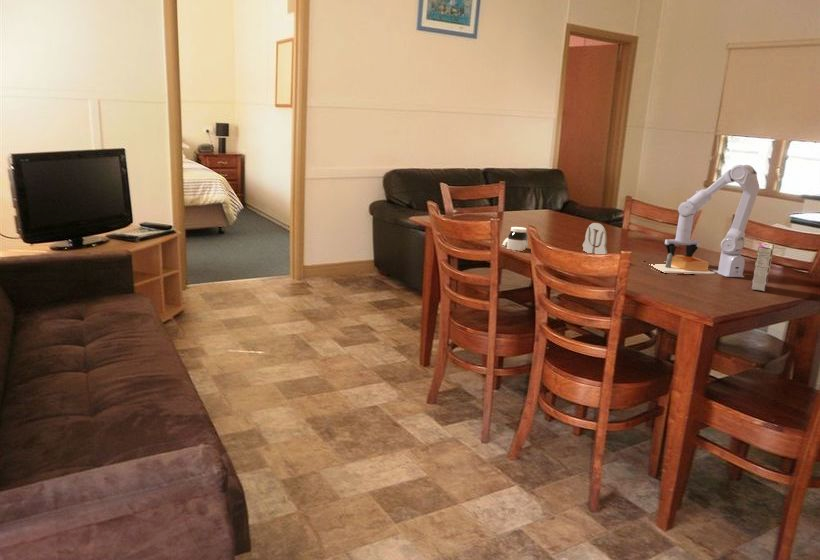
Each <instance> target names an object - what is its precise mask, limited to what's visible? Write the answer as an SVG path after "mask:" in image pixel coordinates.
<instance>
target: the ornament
mask: <svg viewBox="0 0 820 560" xmlns="http://www.w3.org/2000/svg"><path fill="white" fill-rule="evenodd" d="M607 237H608V236H607V231H606V228H605V227H604V225H602V224H601V223H600V222H599V223H598V222H592V223H591V224H589V226H588V227H587V229H586V232H585V236H584V241H583V243H582V247H583V249H582V252H583V251H585V252H587V253H595V254H606V255H607V254H608V250H607V239H608V238H607Z"/></svg>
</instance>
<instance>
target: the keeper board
mask: <svg viewBox="0 0 820 560" xmlns="http://www.w3.org/2000/svg"><path fill="white" fill-rule="evenodd" d="M672 256H673V255H672V254H671V253H669V254H668V253H667V255H666V260H665V262H666V264H655V265H653V264H651V266H653V267H654V268H656V269H658V270H660V271H662V272H664V273H684V274H695V275H696V274H699V275H700V274H701V275H715V274H716V272H713V270H712V271H711V270H709V269H708V271H690V270H683V269H680V268H678V267H676V266H673V265H671V262H672ZM649 265H650V264H649Z"/></svg>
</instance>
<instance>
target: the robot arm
mask: <svg viewBox="0 0 820 560" xmlns="http://www.w3.org/2000/svg"><path fill="white" fill-rule="evenodd" d="M757 174H758V172H757V171H756V170H755V168H754V167H753V166H752V165H749V164H745V165H744V164H743V165H742V164H736V165H734V166H733V167H732V168H731V169H728V170H727V171H726V172H724V174H722V175H721V176H719V178H717V179H716V180H715V181H714V182H713V183H712V184H711V185H710V186H708V187H707V188H706V189H704V188H701V189H700V190H696V191H695V194H694V195H692V196H691V197H690V198H686V201H684V202H683V201H682V202H681V203H680V204H679V206H678V208H677V211H678V214H679V215H678V221H677V227H676V234H675V238H674V239H673V238H672V239H665V238H664V239H665V240H664V245H665V249H666V251H667V255H668V254H669V253H671V254H672V255H673V256H675V252H676V249H677V245H678V246H685V247H686V248H685V253H686V254H685V256H690V257H693V256H694V254H695V252H696V251H697V250H698V248H699V246H700V241H698V240H691V235H692V229H693V223H694V217H695V215H696V214H697V212H698V210H700V208H702V207H704V206H705V205H706V204H708V203H709V202H710V201H711V200H712V196H713V195H714V194H716V192H718V191H719V190H721V189H722V188H724V187H725V186H726V185H728V184H730V183H737V184H739V186H740V188H741V189H742V194H741V197H740V200H739V203H738V206H737V209H736V211H735V214H734V216H733V217H734V218H733V221H732V222H731V225H730V229H729V230H728V231H727V233H726V234H725V237H724V238H723V239H722V240H721V242H720V249H721V252H720V257H719V262H718V263H719V264H718V270H712V272H714V273H715V274H719V275H721V276H724V277H726V278H727V277H728V278H745V275H743V274H744V269H745V263H746V260H745V258H744V257H743V256H742V250H743V249H744V247H745V237H746V233H745V231H746V229H747V228H746V227H747V225H748V222H749V219H750V216H751V213H752V210H753V208H754V205H755V202H756V200H757V196H758V194H759V191H760V185H759V181H758V177H757V176H758V175H757Z"/></svg>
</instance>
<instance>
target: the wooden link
mask: <svg viewBox="0 0 820 560" xmlns="http://www.w3.org/2000/svg"><path fill="white" fill-rule="evenodd" d="M709 264H710V262H709V261H706V260H703V259H700V258H698V257H695V256H692V257H690V256H686V255H683V254H674V256H672V262H671V265H673V266H676V267H678V268H680V269H683V270H690V271H708V270H709V266H710V265H709Z"/></svg>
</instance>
